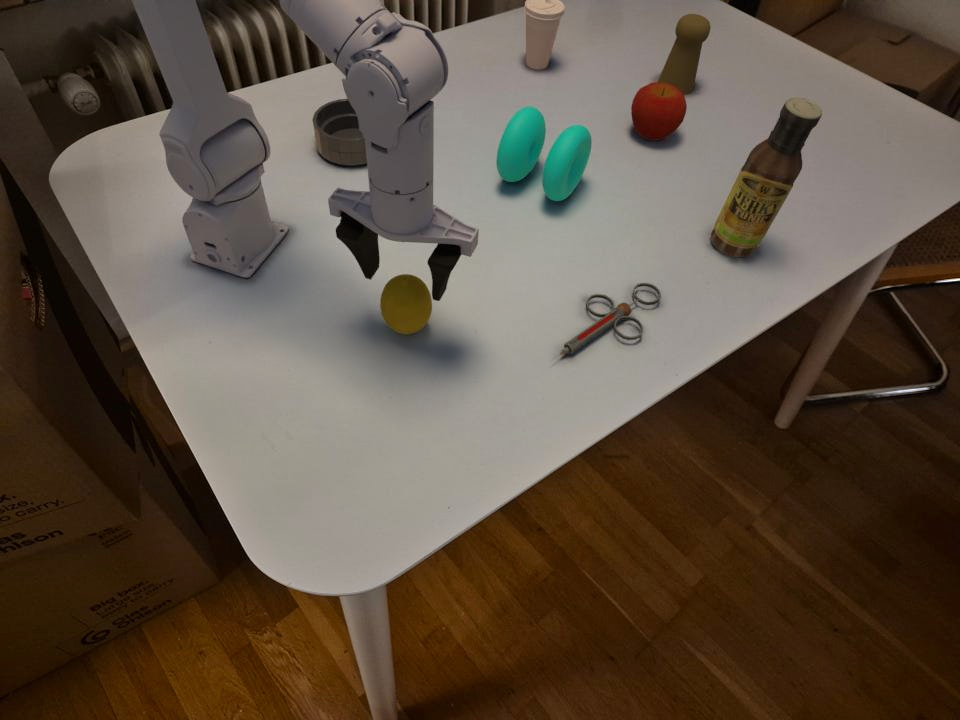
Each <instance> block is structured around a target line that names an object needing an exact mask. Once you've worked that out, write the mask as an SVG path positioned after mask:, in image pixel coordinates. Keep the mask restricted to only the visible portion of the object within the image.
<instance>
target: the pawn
mask: <svg viewBox="0 0 960 720" xmlns="http://www.w3.org/2000/svg"><path fill="white" fill-rule="evenodd" d="M674 33H675V40H674V43H673V45H672V47H671V50H670V52H669V54H668V56H667V59H666V61H665V63H664V65H663V68H662V70H661V73H660V75H659V77H658V80H657V82H662V83H667V84H670V85H672V86H674V87H676V88H677V89H679V90H680V91H681V92H682V94H683V95H684V96H687V95H689V94H691V93H692V92H693V91H694V89H695V83H696V79H697V74H698V68H699V62H700V59H701V58H700V57H701V52H702V47H703V43H704V42H706V40H707V39H708V38H709V35H710V33H711V22H710V20H709V19H708V18H707V17H706V16H703V15H700V14H697V13H688V14H685V15H683V16H681V17H680V18H679V19H678V21H677V23H676V26H675V32H674Z"/></svg>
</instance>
